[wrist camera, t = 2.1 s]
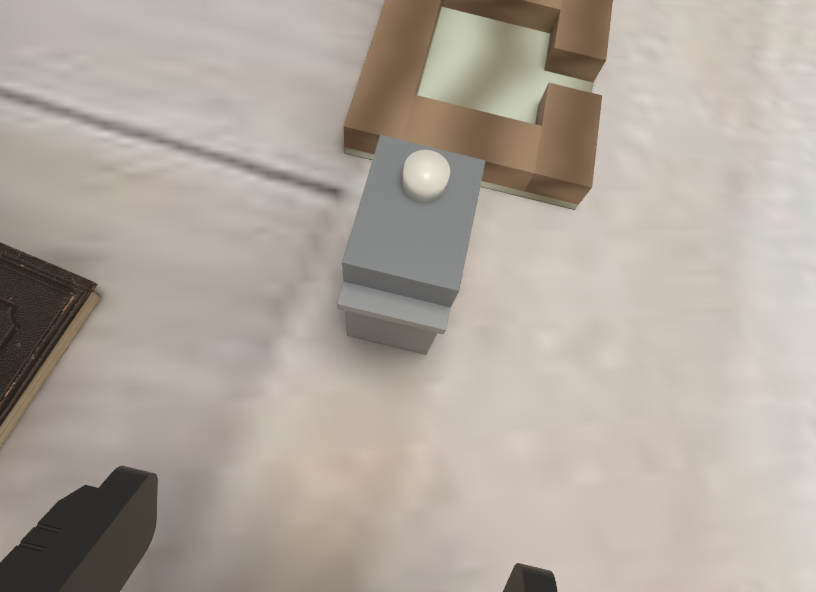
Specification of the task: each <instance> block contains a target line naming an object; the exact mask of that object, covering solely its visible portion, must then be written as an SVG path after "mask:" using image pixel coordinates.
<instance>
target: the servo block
mask: <svg viewBox="0 0 816 592" xmlns="http://www.w3.org/2000/svg"><path fill="white" fill-rule="evenodd" d="M484 166H485V160H481V159H477V158H473V157H469V156H465V155H461V154H457V153H453V152H449V151H445V150H441V149H437V148H433V147H428V146H424V145H420V144H416V143H412V142H408V141H404V140H400V139H396V138H392V137H388V136H384V135H380V138H379V141H378V144H377V148H376V151H375V155H374V158H373V161H372V165H371V168H370V171H369V175H368V178H367V181H366V185H365V188H364V191H363V195H362V198H361V201H360V205H359V208H358V211H357V215H356V218H355V222H354V225H353V228H352V232H351V235H350V238H349V242H348V245H347V248H346V252H345V255H344V258H343V262H342V266H343V281H344V282H343V285H342V288H341V292H340V295H339V299H338V302H337V308H338V309H342V310H346V325H347V336H351V337H355V338H360V339H364V340H368V341H372V342H376V343H380V344H384V345H388V346H392V347H397V348H401V349H405V350H409V351H413V352H417V353H421V354H425V355H426V354H427V352H428V350H429V348H430V346H431V344H432V342H433V340H434V338H435V336H436V334H437V333H440V334H444V332H445V331H446V327H447V322H448V317H449V312H450V307H451V305H452V304H453V302H454V300H455V298H456V296H457V294H458V292H459V288H460V284H461V279H462V274H463V269H464V264H465V259H466V254H467V249H468V244H469V239H470V234H471V229H472V225H473V220H474V215H475V210H476V205H477V200H478V195H479V190H480V185H481V180H482V175H483V170H484Z"/></svg>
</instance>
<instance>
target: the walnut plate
mask: <svg viewBox="0 0 816 592" xmlns="http://www.w3.org/2000/svg"><path fill="white" fill-rule="evenodd" d="M612 3H613V0H386V1H385V4H384V7H383V10H382V13H381V16H380V19H379V22H378V25H377V28H376V31H375V34H374V37H373V40H372V43H371V46H370V49H369V52H368V55H367V58H366V61H365V64H364V67H363V70H362V73H361V76H360V79H359V82H358V85H357V88H356V91H355V94H354V97H353V100H352V103H351V106H350V109H349V112H348V115H347V118H346V121H345V124H344V148H345V153H347V154H351V155H355V156H359V157H363V158H367V159H371V160H373V158H374V155H375V151H376V148H377V144H378V141H379V138H380V135H384V136H388V137H392V138H396V139H400V140H404V141H408V142H412V143H416V144H420V145H424V146H428V147H433V148H437V149H441V150H445V151H449V152H453V153H457V154H461V155H465V156H469V157H473V158H477V159H481V160H485V166H484V170H483V175H482V180H481V185H480V186H481V187H485V188H489V189H493V190H497V191H501V192H505V193H509V194H513V195H517V196H522V197H526V198H530V199H534V200H538V201H542V202H546V203H550V204H554V205H558V206H562V207H566V208H570V209H574V210H575V208H576V207H577V206H578V205H579V203H580V202H581V201H582V199H583V198H584V197H585V196H586V194H587V193H588V192H589V191H590V189H591V188H592V182H593V173H594V164H595V155H596V146H597V137H598V128H599V119H600V110H601V101H602V95H598V94H594V93H592V88H593V82H594V80H595V79H596V77H597V75H598V73H599V72H600V70H601V68H602V66H603V65H604V63H605V61H606V56H607V48H608V39H609V30H610V21H611V12H612Z"/></svg>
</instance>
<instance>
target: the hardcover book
mask: <svg viewBox="0 0 816 592" xmlns="http://www.w3.org/2000/svg"><path fill="white" fill-rule="evenodd" d="M96 286H97V284H96V283H95V282H93V281H90V280H88V279H86V278H83V277H81V276H78V275H76V274H74V273H71V272H69V271H67V270H64V269H62V268H59V267H57V266H55V265H52V264H50V263H48V262H45V261H43V260H40V259H38V258H36V257H33V256H31V255H29V254H26V253H24V252H21V251H19V250H17V249H14V248H12V247H10V246H7V245H5V244H2V243H0V447H1V446H2V444H3V443H4V441H5V440H6V438H7V437H8V435H9V434H10V432H11V431H12V429H13V428H14V427H15V425H16V424H17V422H18V421H19V419H20V418H21V416H22V415H23V413H24V412H25V410H26V409H27V407H28V406H29V404H30V403H31V401H32V400H33V398H34V397H35V395H36V394H37V392H38V391H39V389H40V388H41V386H42V385H43V383H44V382H45V380H46V379H47V377H48V376H49V374H50V373H51V371H52V370H53V368H54V367H55V366H56V364H57V363H58V361H59V360H60V358H61V357H62V355H63V354H64V352H65V351H66V349H67V348H68V346H69V345H70V343H71V342H72V340H73V339H74V337H75V336H76V334H77V333H78V331H79V330H80V328H81V327H82V325H83V324H84V322H85V321H86V319H87V318H88V316H89V315H90V313H91V312H92V310H93V309H94V307H95V306H96V305H97V303H98V302H99V300H100V299H101V298H100V297H99V296H98V295H97V294H96V293H94V292H93V290H94V289H95V287H96Z"/></svg>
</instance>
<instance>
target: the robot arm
mask: <svg viewBox="0 0 816 592" xmlns="http://www.w3.org/2000/svg"><path fill="white" fill-rule="evenodd" d="M157 485H158V478H157V475H156V474H155V473H150V472H146V471H142V470H138V469H134V468H130V467H126V466H119V467H118V468H116V469H115V470H114V471H113V472H112V473H111V474H110V475H109V477H108V478H107V479H106V480H105V481H104V482H103V483H102V485H101V486H100V487H99V488H96V487H92V486H88V485H84V486H83V487H81V488H79V489H78V490H76V491H74V492H73V493H71V494H69V495H68V496H66V497H64V498H63V499H61V500H59V501H58V502H57V503H56V504H55V505H54V506H53V507H52V508H51V509H50V511H49V512H48V513H47V514H46V515H45V516H44V517H43V518H42V519H41V520H40V521H39V522H38V525H37V526H36V527H33V529H32V530H31V531H30V532H29V533H28V534H27V535H26V536H25V537H24V538H23V539H22V540H21V543H20V544H19V546H16V547H15V548H14V549H13V550H12V551H11V552H10V553H9V554H8V555H7V556H6V557H5V558H4V559H3V560H2V561H1V562H0V592H120V590H121V589H122V587H123V586H124V584H125V583H126V581H127V580H128V578H129V577H130V575H131V574H132V572H133V571H134V569H135V568H136V566H137V565H138V563H139V562H140V560H141V559H142V557H143V556H144V554H145V552H146V551H147V549H148V547H149V545H150V543H151V540H152V538H153V535H154V532H155V528H156V520H157ZM503 592H557V586H556V581H555V577H554V574H553V573H552V572H551V571H549V570H545V569H541V568H537V567H533V566H528V565H524V564H520V563H517V564H516V565H515V566H514V568H513V570H512V572H511V574H510V577H509V579H508V581H507V584H506V586H505V588H504V590H503Z"/></svg>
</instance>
